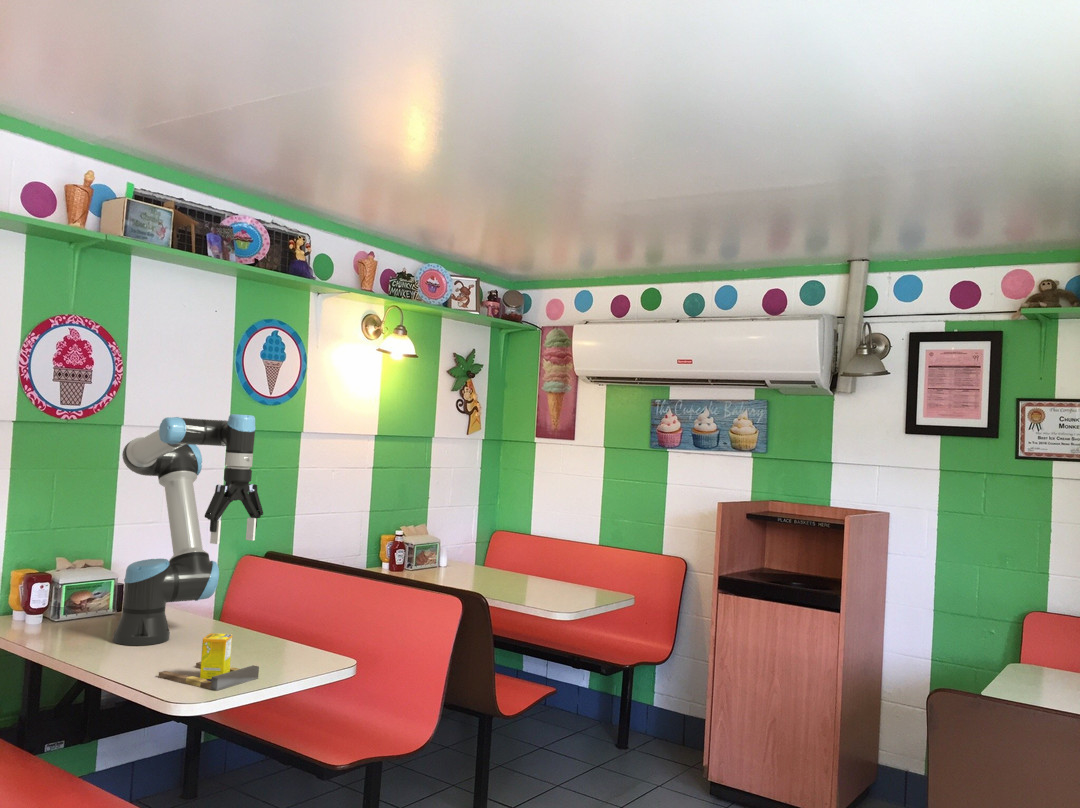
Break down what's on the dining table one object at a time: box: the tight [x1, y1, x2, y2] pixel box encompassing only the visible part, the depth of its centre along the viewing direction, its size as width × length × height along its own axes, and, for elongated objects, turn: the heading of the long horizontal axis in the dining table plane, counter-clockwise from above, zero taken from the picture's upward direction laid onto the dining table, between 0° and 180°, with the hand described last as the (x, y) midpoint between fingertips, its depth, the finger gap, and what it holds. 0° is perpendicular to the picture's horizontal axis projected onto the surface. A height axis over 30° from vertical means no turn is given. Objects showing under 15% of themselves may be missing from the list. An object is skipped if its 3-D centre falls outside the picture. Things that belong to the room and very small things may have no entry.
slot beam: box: [158, 661, 260, 692], centre depth 219 cm, size 20×14×3 cm
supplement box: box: [199, 632, 233, 681], centre depth 218 cm, size 6×6×11 cm
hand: (232, 542), depth 245 cm, fingers open, 13 cm apart
